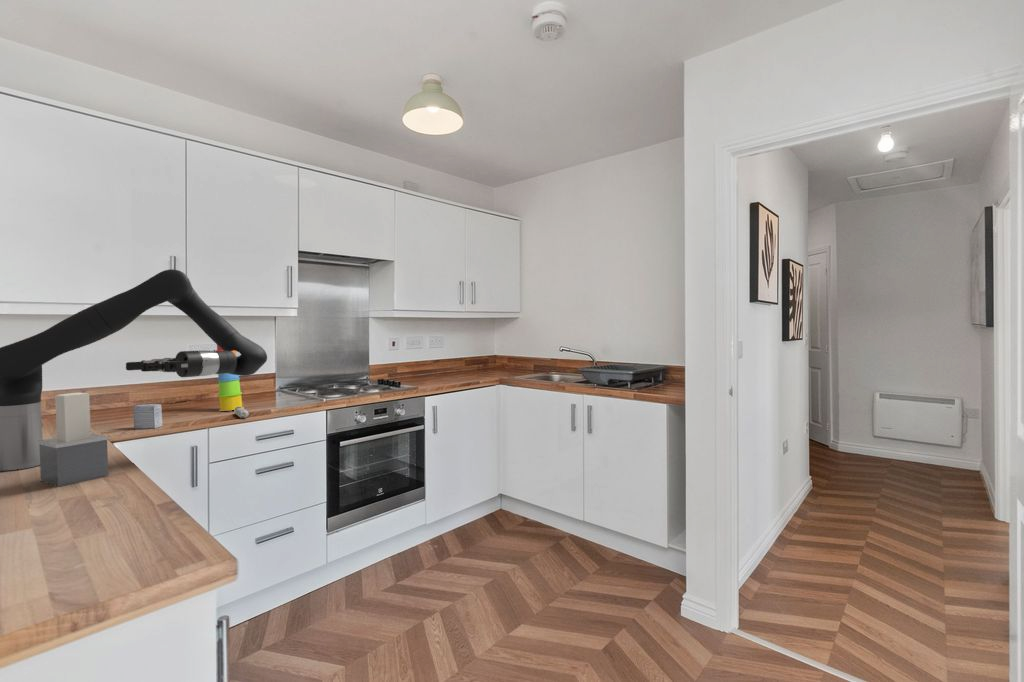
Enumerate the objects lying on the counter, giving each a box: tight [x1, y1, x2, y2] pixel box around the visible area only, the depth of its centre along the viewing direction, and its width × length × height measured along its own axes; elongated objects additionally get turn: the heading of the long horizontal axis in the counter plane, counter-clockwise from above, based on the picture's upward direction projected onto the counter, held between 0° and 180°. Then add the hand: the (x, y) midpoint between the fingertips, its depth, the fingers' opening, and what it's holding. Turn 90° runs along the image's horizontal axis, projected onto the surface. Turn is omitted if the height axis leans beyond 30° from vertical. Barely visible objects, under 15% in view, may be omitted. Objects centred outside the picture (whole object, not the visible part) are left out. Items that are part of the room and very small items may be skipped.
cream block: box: [54, 392, 92, 441], centre depth 127 cm, size 5×5×11 cm
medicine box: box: [132, 403, 163, 430], centre depth 193 cm, size 8×4×9 cm, turn 92°
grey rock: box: [233, 402, 250, 419], centre depth 215 cm, size 18×5×7 cm, turn 38°
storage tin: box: [38, 432, 109, 487], centre depth 127 cm, size 10×10×10 cm
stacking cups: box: [215, 344, 245, 410], centre depth 232 cm, size 10×10×35 cm
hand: (133, 366), depth 135 cm, fingers open, 8 cm apart
